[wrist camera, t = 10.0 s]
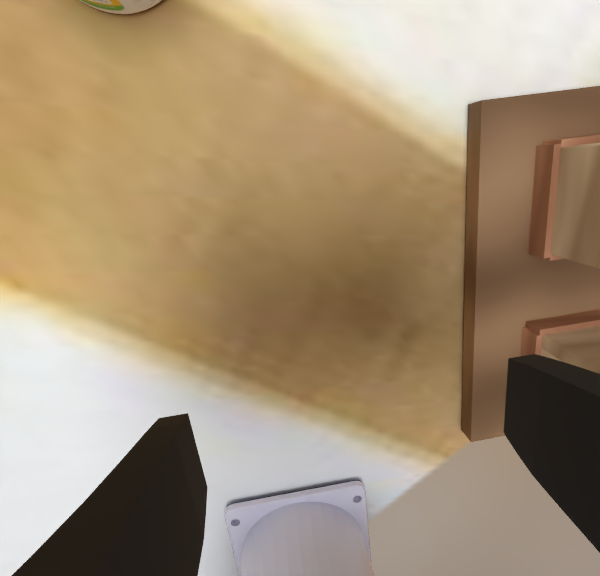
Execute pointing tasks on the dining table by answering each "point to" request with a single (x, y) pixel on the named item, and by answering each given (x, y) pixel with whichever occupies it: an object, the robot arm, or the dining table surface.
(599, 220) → the banded sleeve
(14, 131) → the dining table surface
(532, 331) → the seated sleeve
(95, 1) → the supplement bottle
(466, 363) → the pin board
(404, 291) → the dining table surface
